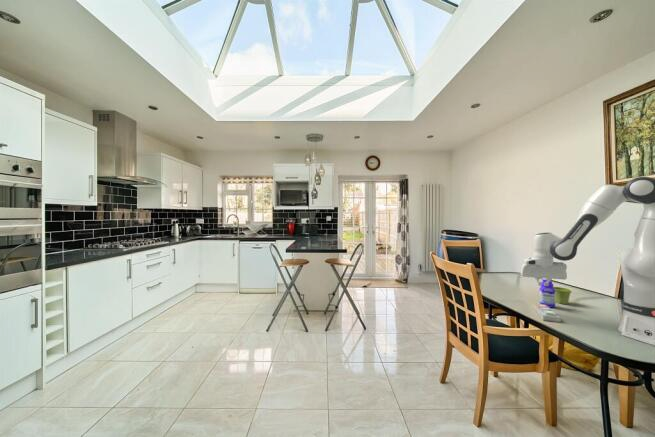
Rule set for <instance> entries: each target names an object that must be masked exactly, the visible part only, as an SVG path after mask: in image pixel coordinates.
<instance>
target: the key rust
mask: <svg viewBox="0 0 655 437" xmlns="http://www.w3.org/2000/svg"><path fill="white" fill-rule="evenodd" d="M536 305H537V307H538V308H539V309H540V307H545V308H548V306H546V305H542V304H540V303H536Z"/></svg>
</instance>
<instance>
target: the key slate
mask: <svg viewBox="0 0 655 437" xmlns="http://www.w3.org/2000/svg"><path fill="white" fill-rule="evenodd" d="M540 310H541V311H542V312H543V310H547V311H552V310H553V309H551V307H549V308H545V307H540Z"/></svg>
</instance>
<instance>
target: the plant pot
mask: <svg viewBox="0 0 655 437" xmlns="http://www.w3.org/2000/svg"><path fill="white" fill-rule="evenodd" d="M553 288H554V289H555V304H556V303H557V304H561V305H568V304H569V301H570V295H571V293H572V292H573V290H572V289H571V288H568V287H567V288H566V287H561V286H553Z"/></svg>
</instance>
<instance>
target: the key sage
mask: <svg viewBox="0 0 655 437" xmlns="http://www.w3.org/2000/svg"><path fill="white" fill-rule="evenodd" d="M553 311H554V310H553ZM553 311H547V310H543V313H544V314H545V315H549V316H556V314H557V313H556V312H555V311H554V312H555V313H556V314H555V313H554V312H553Z"/></svg>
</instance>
